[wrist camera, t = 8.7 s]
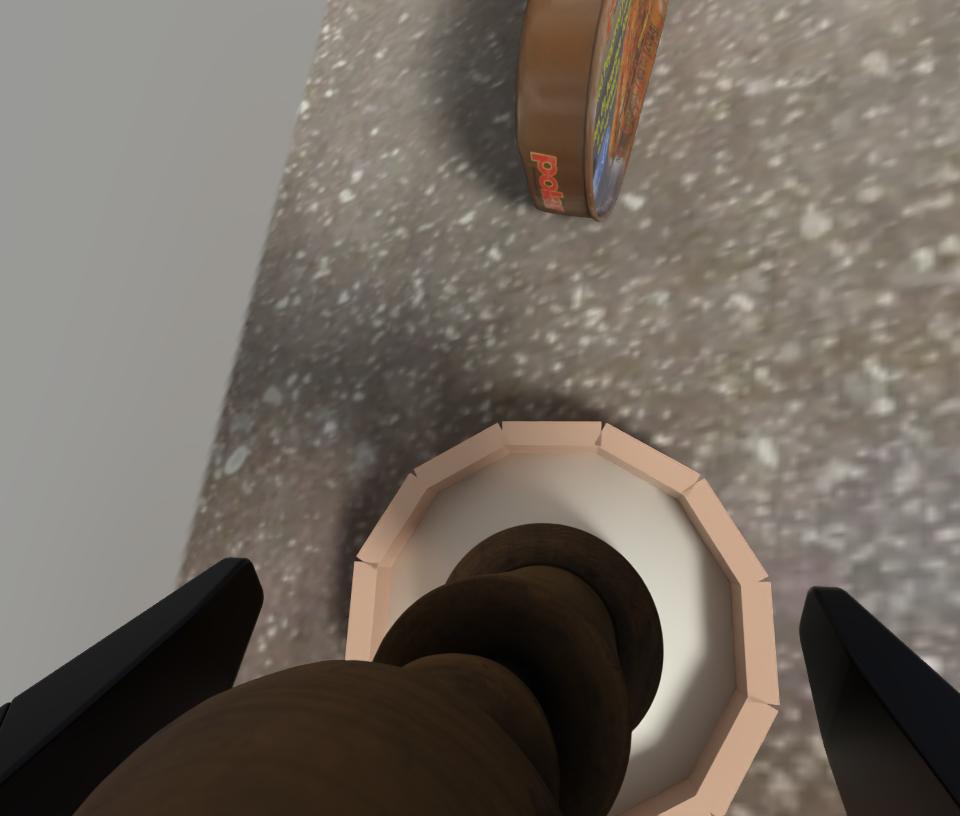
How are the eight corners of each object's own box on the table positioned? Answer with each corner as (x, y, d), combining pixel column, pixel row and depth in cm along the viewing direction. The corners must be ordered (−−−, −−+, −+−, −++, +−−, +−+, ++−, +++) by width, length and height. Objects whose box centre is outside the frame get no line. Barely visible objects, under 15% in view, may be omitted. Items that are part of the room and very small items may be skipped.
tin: (601, 265, 23) (605, 102, 15) (522, 252, 24) (486, 90, 16) (682, -43, 26) (721, -317, 18) (609, -45, 27) (617, -309, 19)
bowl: (843, 721, 18) (877, 742, 15) (472, 913, 18) (456, 958, 16) (620, 374, 21) (623, 353, 19) (320, 539, 22) (292, 536, 20)
